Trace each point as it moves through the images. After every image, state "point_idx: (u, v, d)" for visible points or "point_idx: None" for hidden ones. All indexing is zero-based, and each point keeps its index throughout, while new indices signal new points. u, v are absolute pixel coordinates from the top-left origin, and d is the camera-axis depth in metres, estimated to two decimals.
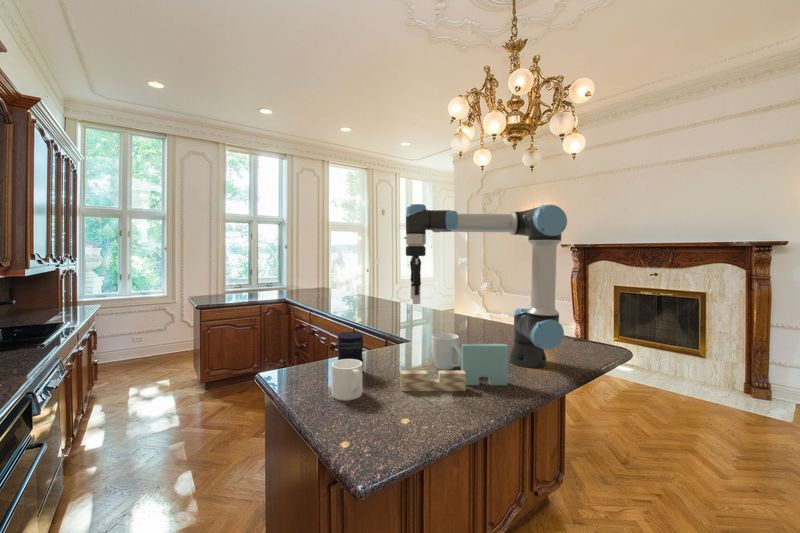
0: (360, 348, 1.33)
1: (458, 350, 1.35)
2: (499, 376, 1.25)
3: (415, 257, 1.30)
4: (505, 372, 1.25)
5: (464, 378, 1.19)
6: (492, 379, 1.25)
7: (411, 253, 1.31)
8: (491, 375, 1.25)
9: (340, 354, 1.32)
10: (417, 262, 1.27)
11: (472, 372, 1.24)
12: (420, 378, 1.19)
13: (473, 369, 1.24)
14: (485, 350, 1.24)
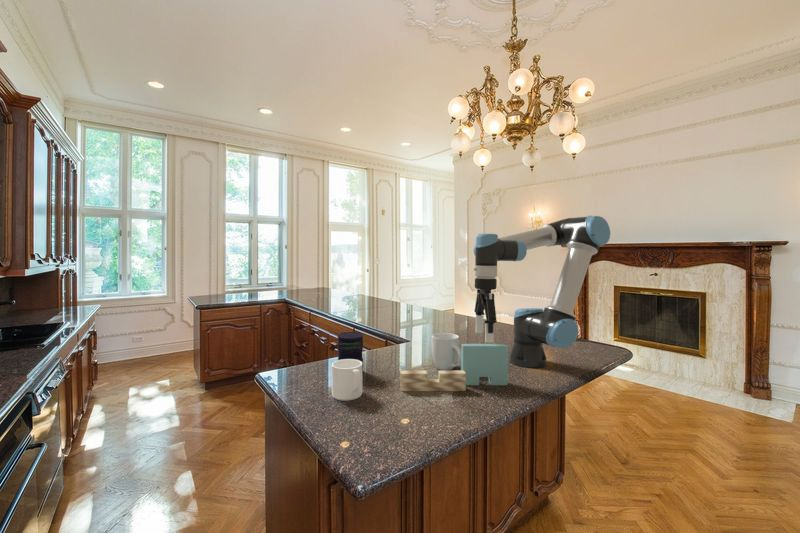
0: (360, 348, 1.33)
1: (458, 350, 1.35)
2: (499, 376, 1.25)
3: (487, 291, 1.21)
4: (505, 372, 1.25)
5: (464, 378, 1.19)
6: (492, 379, 1.25)
7: (483, 286, 1.21)
8: (491, 375, 1.25)
9: (340, 354, 1.32)
10: (491, 297, 1.18)
11: (472, 372, 1.24)
12: (420, 378, 1.19)
13: (473, 369, 1.24)
14: (485, 350, 1.24)
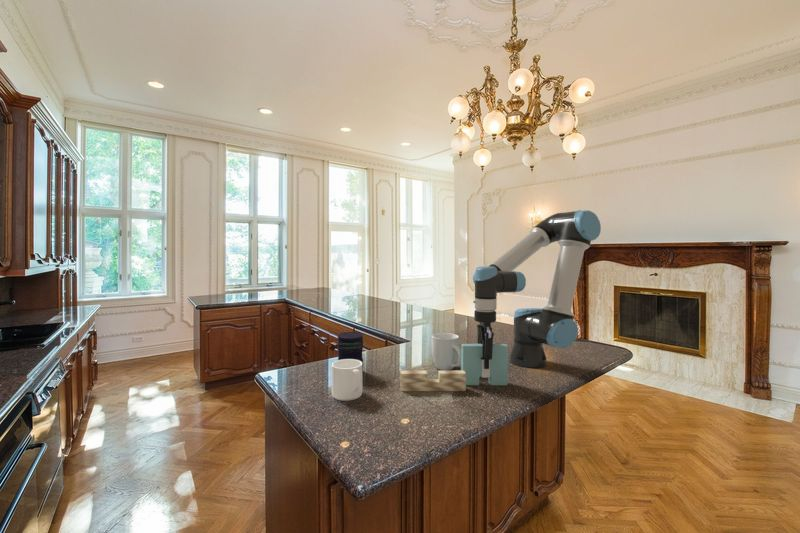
0: (360, 348, 1.33)
1: (458, 350, 1.35)
2: (499, 376, 1.25)
3: (487, 324, 1.21)
4: (505, 372, 1.25)
5: (464, 378, 1.19)
6: (492, 379, 1.25)
7: (482, 320, 1.22)
8: (491, 375, 1.25)
9: (340, 354, 1.32)
10: (490, 337, 1.19)
11: (472, 372, 1.24)
12: (420, 378, 1.19)
13: (473, 369, 1.24)
14: None
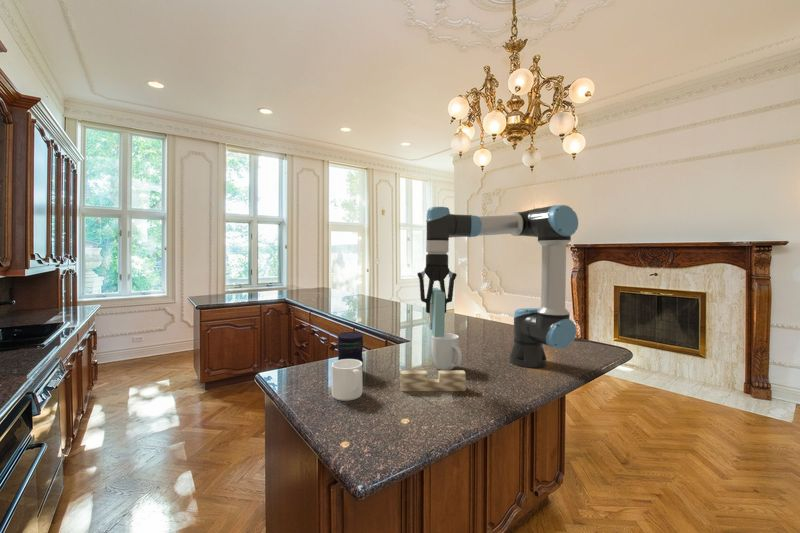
0: (360, 348, 1.33)
1: (458, 350, 1.35)
2: (433, 325, 1.15)
3: None
4: (434, 322, 1.13)
5: (464, 378, 1.19)
6: (432, 326, 1.17)
7: None
8: (432, 322, 1.18)
9: (340, 354, 1.32)
10: None
11: None
12: (420, 378, 1.19)
13: None
14: None
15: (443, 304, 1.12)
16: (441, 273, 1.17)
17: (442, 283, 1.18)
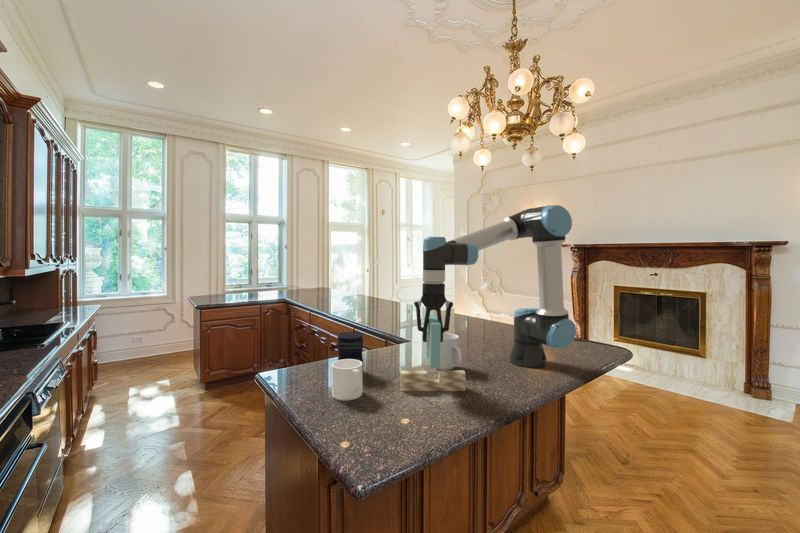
0: (360, 348, 1.33)
1: (458, 350, 1.35)
2: (429, 355, 1.15)
3: (422, 295, 1.19)
4: (430, 353, 1.13)
5: (464, 378, 1.19)
6: None
7: None
8: None
9: (340, 354, 1.32)
10: (415, 306, 1.19)
11: None
12: (420, 378, 1.19)
13: None
14: (428, 323, 1.20)
15: (439, 334, 1.12)
16: (437, 302, 1.17)
17: (438, 312, 1.18)
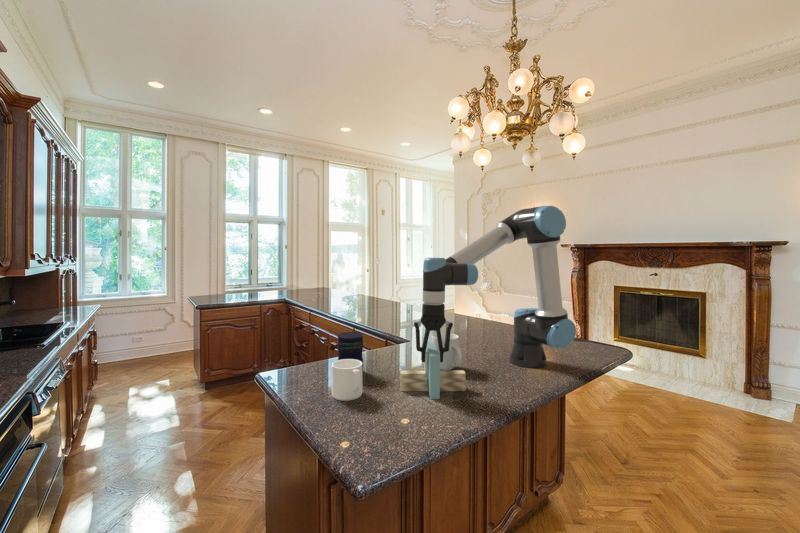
0: (360, 348, 1.33)
1: (458, 350, 1.35)
2: (429, 386, 1.16)
3: (422, 315, 1.20)
4: (430, 384, 1.13)
5: (464, 378, 1.19)
6: (428, 386, 1.18)
7: None
8: (428, 381, 1.18)
9: (340, 354, 1.32)
10: None
11: None
12: (420, 378, 1.19)
13: None
14: None
15: (438, 366, 1.12)
16: (437, 323, 1.18)
17: (438, 333, 1.18)
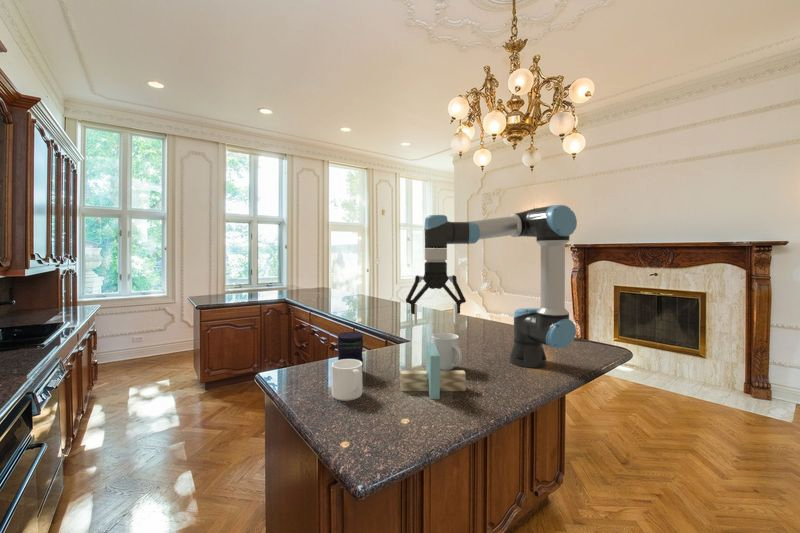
0: (360, 348, 1.33)
1: (458, 350, 1.35)
2: (429, 386, 1.16)
3: (424, 274, 1.20)
4: (430, 384, 1.13)
5: (464, 378, 1.19)
6: (428, 386, 1.18)
7: None
8: (428, 381, 1.18)
9: (340, 354, 1.32)
10: (415, 279, 1.19)
11: None
12: (420, 378, 1.19)
13: (426, 369, 1.24)
14: None
15: (439, 366, 1.12)
16: (440, 281, 1.18)
17: (446, 288, 1.18)
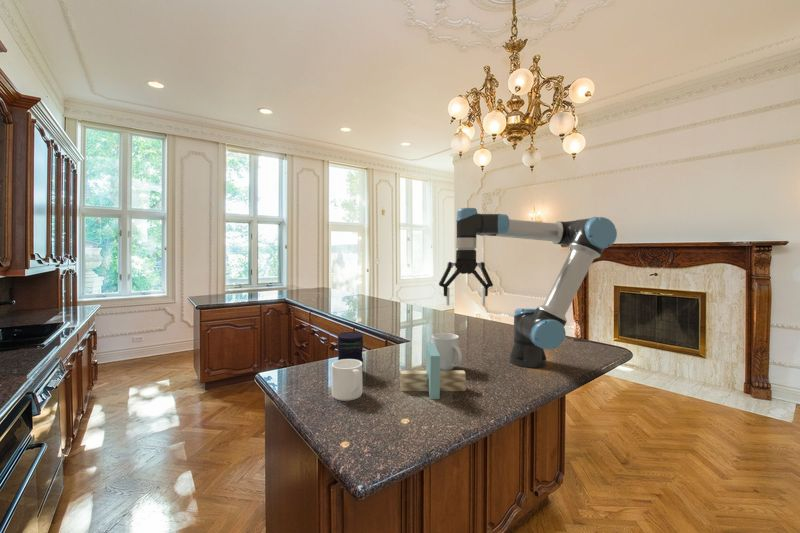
0: (360, 348, 1.33)
1: (458, 350, 1.35)
2: (429, 386, 1.16)
3: (456, 260, 1.34)
4: (430, 384, 1.13)
5: (464, 378, 1.19)
6: (428, 386, 1.18)
7: None
8: (428, 381, 1.18)
9: (340, 354, 1.32)
10: (448, 265, 1.34)
11: None
12: (420, 378, 1.19)
13: (426, 369, 1.24)
14: None
15: (439, 366, 1.12)
16: (470, 266, 1.32)
17: (476, 273, 1.33)
